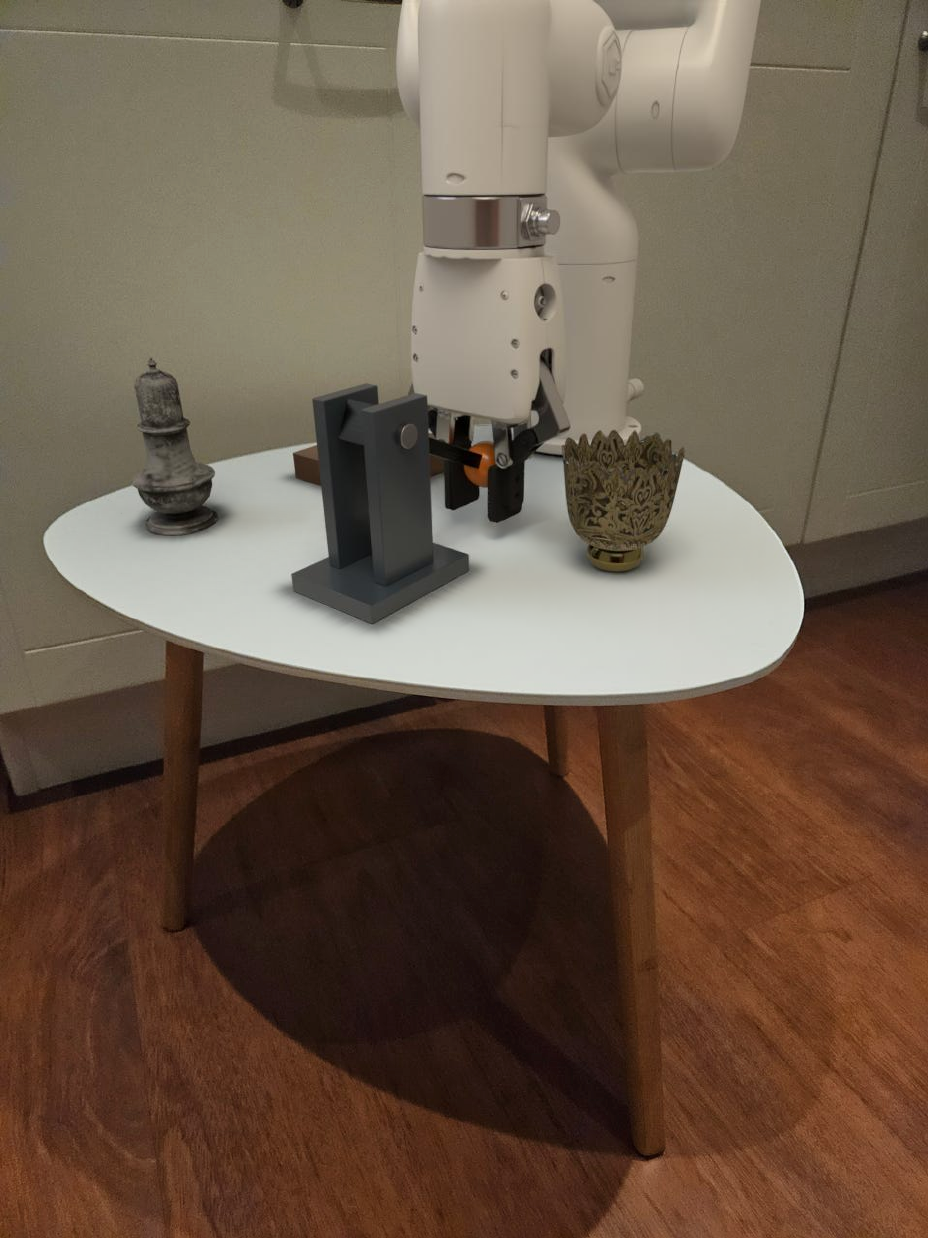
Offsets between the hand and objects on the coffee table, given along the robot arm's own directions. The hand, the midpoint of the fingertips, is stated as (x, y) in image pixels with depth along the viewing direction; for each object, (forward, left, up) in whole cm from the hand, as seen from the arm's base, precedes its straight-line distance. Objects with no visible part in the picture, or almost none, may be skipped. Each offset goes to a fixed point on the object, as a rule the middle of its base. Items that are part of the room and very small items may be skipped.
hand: (483, 508), depth 61 cm
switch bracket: (+10, 0, -2) cm, 11 cm away
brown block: (-5, -15, -2) cm, 16 cm away
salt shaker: (+12, -19, -2) cm, 23 cm away
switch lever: (+6, 0, +4) cm, 7 cm away
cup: (-1, +10, -2) cm, 11 cm away
